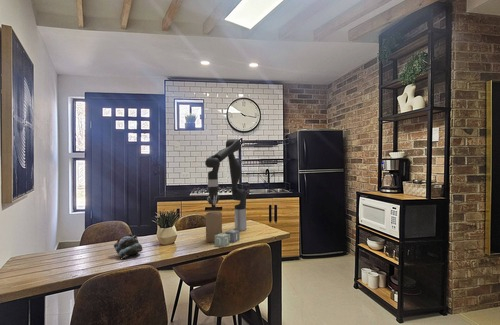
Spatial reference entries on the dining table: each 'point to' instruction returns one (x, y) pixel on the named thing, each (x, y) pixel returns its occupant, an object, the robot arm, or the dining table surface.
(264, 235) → the dining table surface
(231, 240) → the slate numbered cube
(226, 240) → the sage numbered cube
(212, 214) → the wooden block
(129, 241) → the dark green lumpy piece
